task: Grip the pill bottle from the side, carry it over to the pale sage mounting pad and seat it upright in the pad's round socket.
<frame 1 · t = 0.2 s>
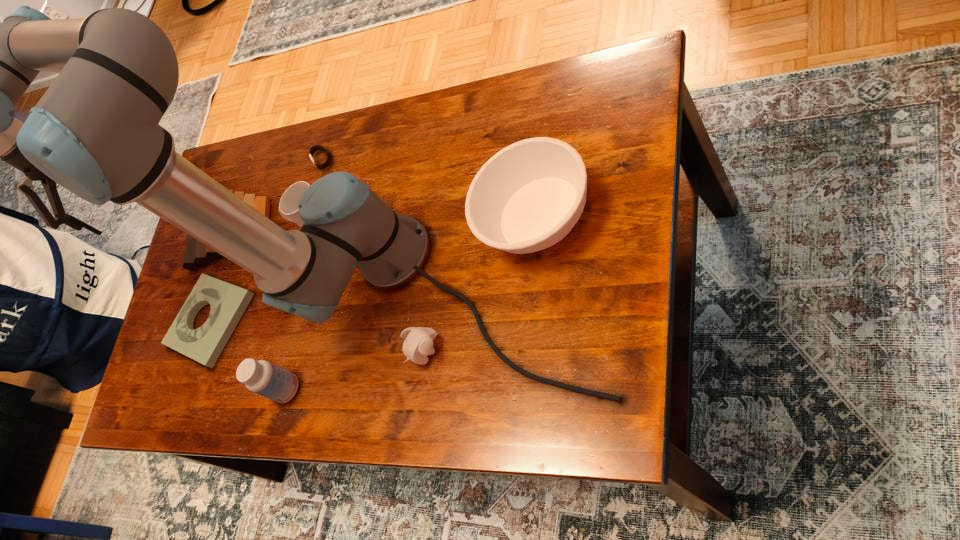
hand: (117, 203, 133), 28 cm above the table, tool pointing down, fingers open, 13 cm apart
pan flute: (233, 212, 162), on the table
bowl: (541, 216, 118), on the table
elephant figurine: (428, 352, 116), on the table
pill bottle: (288, 389, 127), on the table
watch: (324, 161, 155), on the table
mounting pad: (210, 320, 147), on the table
mug: (326, 227, 144), on the table
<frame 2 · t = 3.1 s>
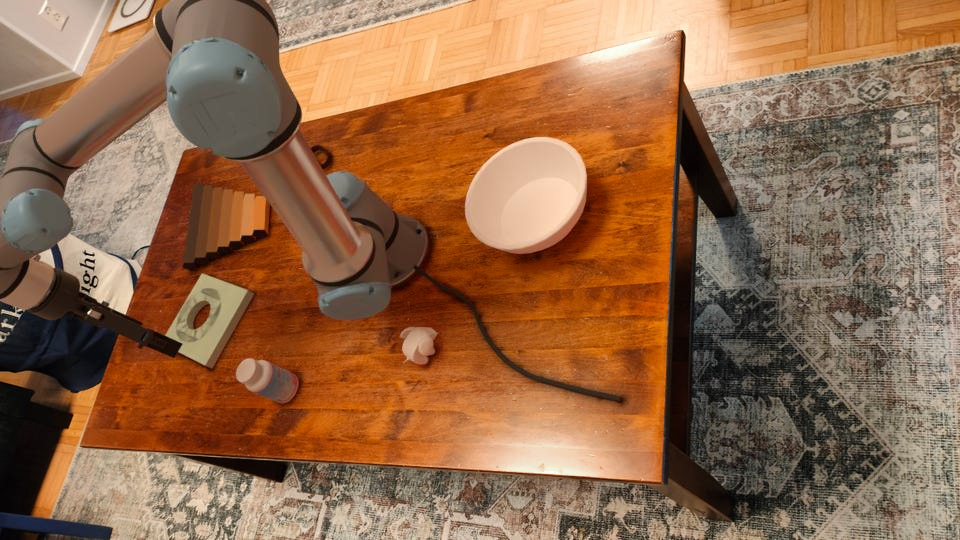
hand: (157, 339, 115), 23 cm above the table, tool pointing down, fingers open, 13 cm apart
nothing on the table moved.
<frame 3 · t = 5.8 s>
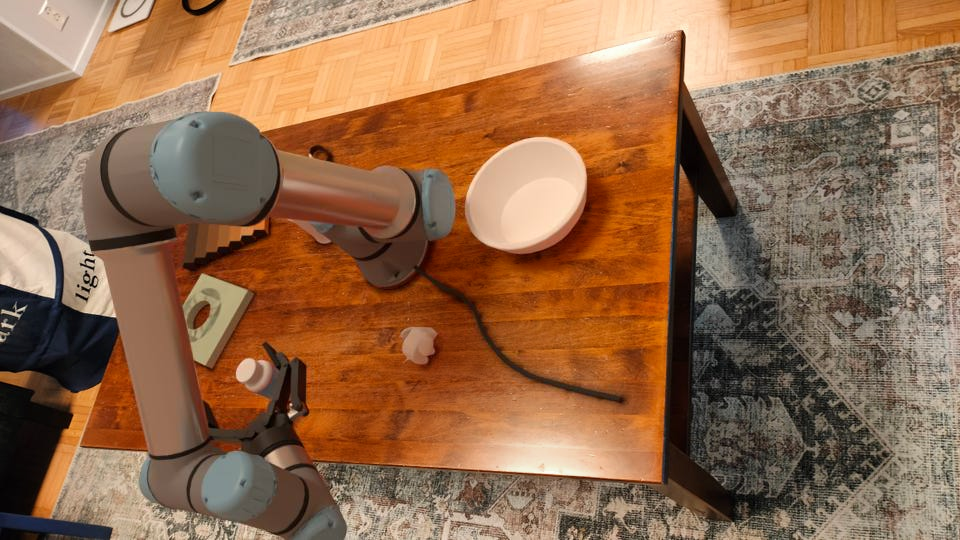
hand: (235, 373, 108), 19 cm above the table, tool horizontal, fingers open, 13 cm apart
nothing on the table moved.
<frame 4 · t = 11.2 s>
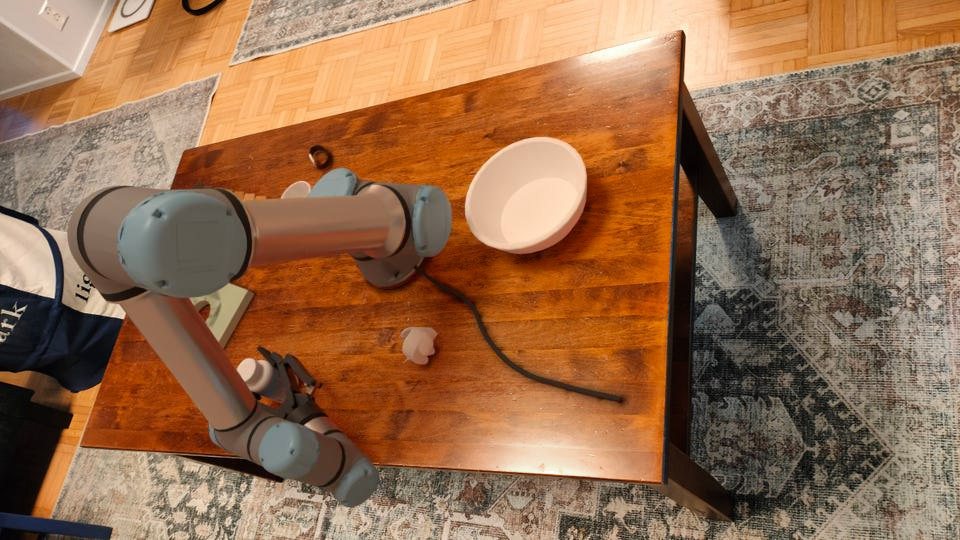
hand: (251, 364, 125), 7 cm above the table, tool horizontal, fingers closed on pill bottle, 6 cm apart
pill bottle: (288, 389, 127), on the table, touching gripper
everything else where it was.
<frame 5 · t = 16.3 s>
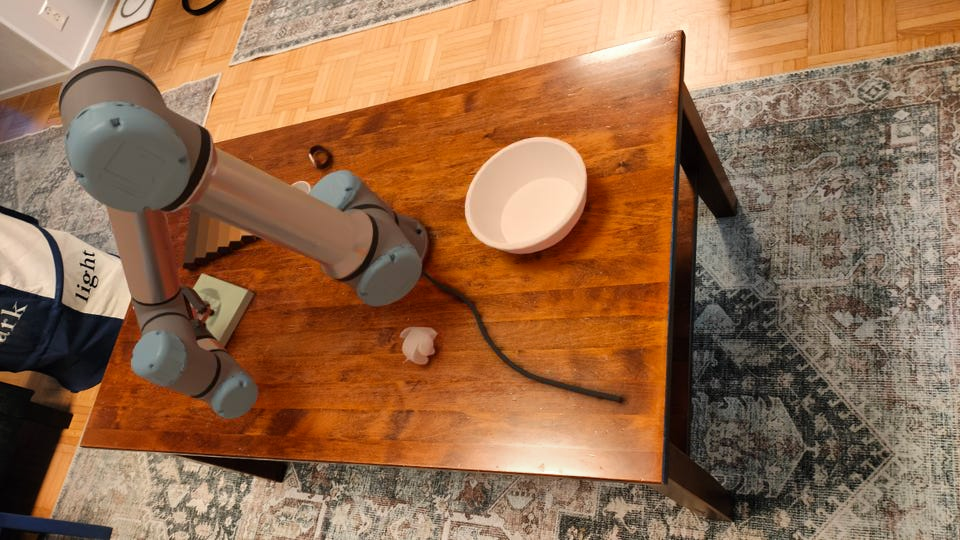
hand: (152, 298, 130), 18 cm above the table, tool horizontal, fingers closed on pill bottle, 6 cm apart
pill bottle: (189, 323, 132), point 11 cm above the table, touching gripper
everything else where it was.
when the fingers open (6 cm above the table, at t = 21.3 s): pill bottle stays where it is, resting in mounting pad.
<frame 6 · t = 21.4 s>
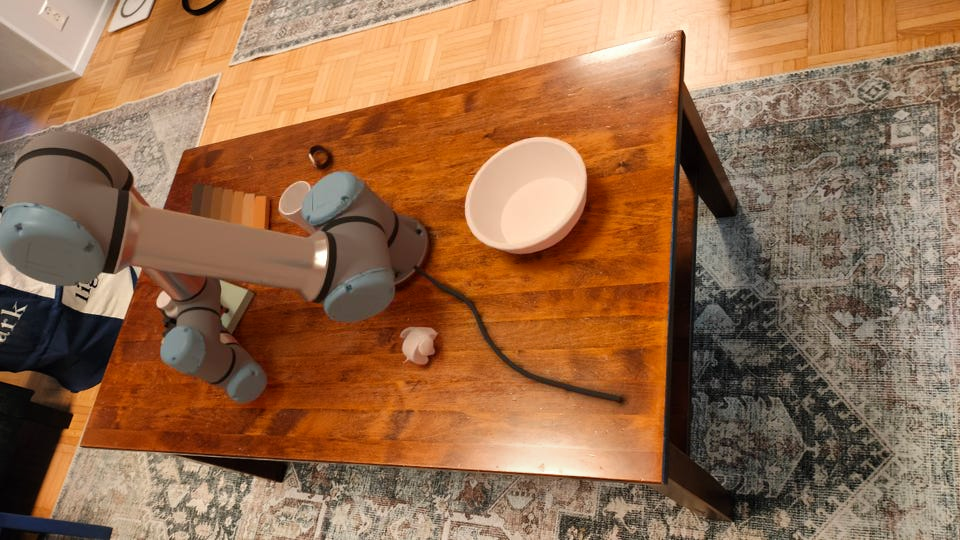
hand: (173, 296, 146), 6 cm above the table, tool horizontal, fingers open, 6 cm apart
pill bottle: (205, 318, 148), resting in mounting pad
everything else where it was.
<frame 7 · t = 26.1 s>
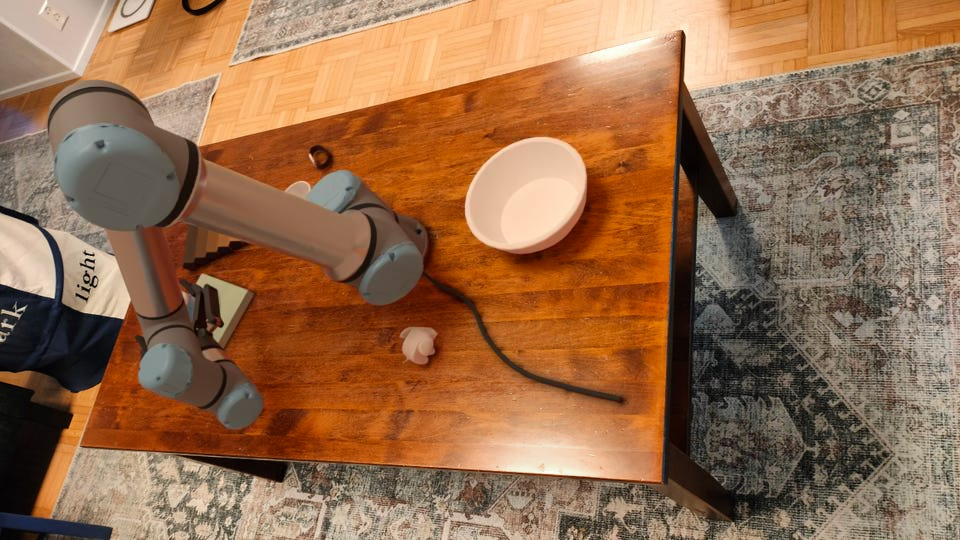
hand: (163, 310, 130), 16 cm above the table, tool horizontal, fingers open, 13 cm apart
nothing on the table moved.
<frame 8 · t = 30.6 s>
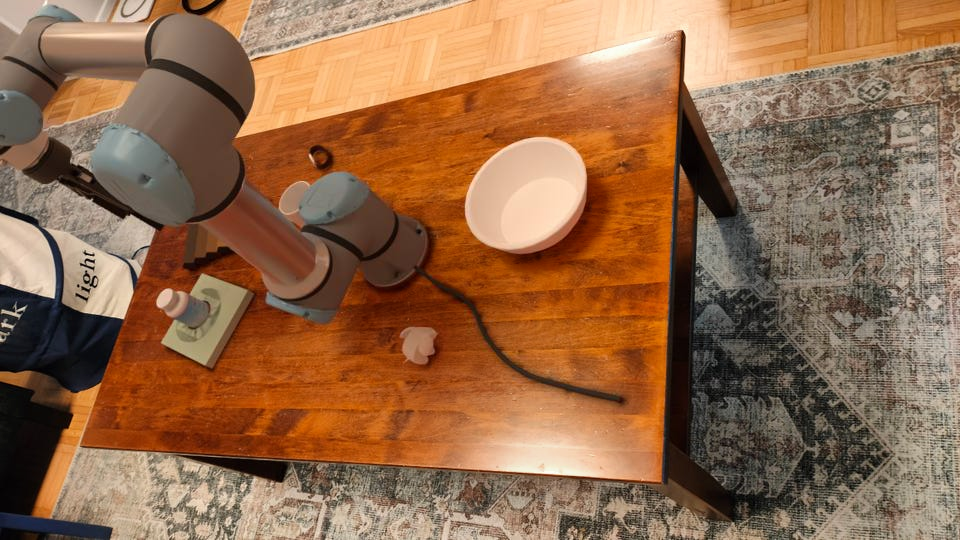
hand: (144, 219, 124), 29 cm above the table, tool pointing down, fingers open, 13 cm apart
nothing on the table moved.
at the end: pill bottle 0.0 cm from the target spot in the mounting pad, point 0.0 cm above the mounting pad's base; pill bottle tilted 0°; the gripper is holding nothing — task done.
